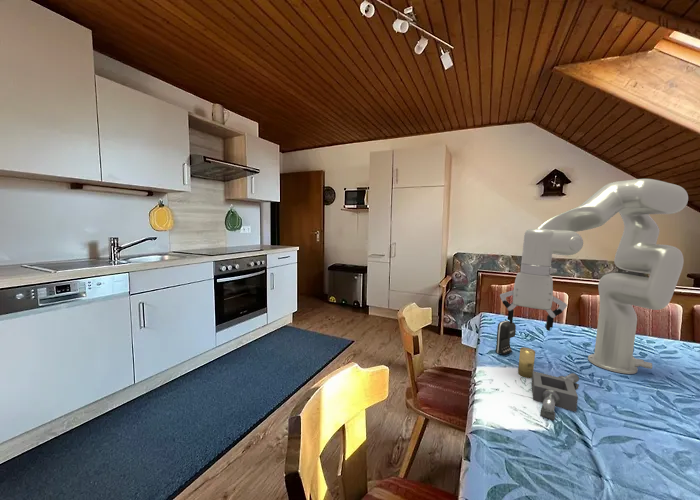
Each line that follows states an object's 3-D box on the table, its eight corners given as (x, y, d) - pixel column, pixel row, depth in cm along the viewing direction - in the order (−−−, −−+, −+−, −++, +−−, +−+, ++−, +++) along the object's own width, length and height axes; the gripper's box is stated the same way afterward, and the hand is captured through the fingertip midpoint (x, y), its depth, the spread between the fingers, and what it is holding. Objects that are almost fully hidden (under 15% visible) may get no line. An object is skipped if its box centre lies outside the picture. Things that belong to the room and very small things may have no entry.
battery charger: (505, 356, 104) (508, 325, 103) (494, 352, 107) (497, 322, 106) (515, 352, 108) (517, 322, 107) (504, 348, 111) (507, 319, 110)
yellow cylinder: (532, 374, 92) (534, 349, 91) (533, 379, 88) (535, 354, 88) (517, 370, 94) (520, 346, 93) (517, 375, 90) (520, 350, 90)
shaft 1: (541, 402, 77) (543, 386, 76) (558, 408, 75) (560, 392, 74) (538, 415, 71) (539, 398, 71) (555, 422, 69) (557, 405, 69)
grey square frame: (570, 394, 81) (571, 380, 81) (576, 412, 73) (577, 396, 73) (531, 384, 86) (532, 371, 85) (533, 400, 78) (534, 385, 77)
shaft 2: (568, 395, 81) (570, 380, 80) (554, 389, 84) (555, 374, 83) (580, 388, 84) (582, 374, 84) (566, 382, 87) (567, 369, 87)
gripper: (568, 272, 87) (561, 328, 89) (503, 265, 96) (497, 317, 97) (572, 275, 81) (565, 336, 82) (502, 268, 89) (496, 323, 91)
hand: (528, 325), depth 90 cm, fingers open, 9 cm apart
